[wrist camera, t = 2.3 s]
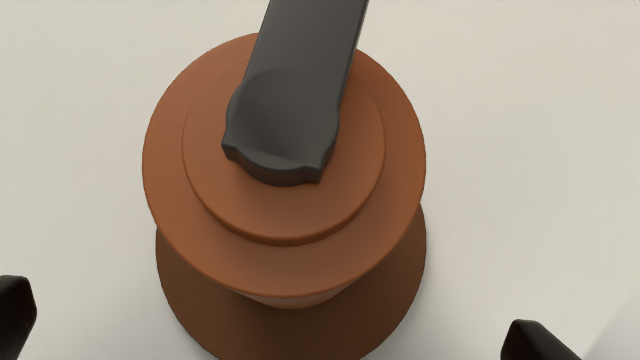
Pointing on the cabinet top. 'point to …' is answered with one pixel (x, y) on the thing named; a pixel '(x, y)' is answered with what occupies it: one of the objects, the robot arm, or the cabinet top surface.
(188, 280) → the coaster
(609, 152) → the cabinet top surface
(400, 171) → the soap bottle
